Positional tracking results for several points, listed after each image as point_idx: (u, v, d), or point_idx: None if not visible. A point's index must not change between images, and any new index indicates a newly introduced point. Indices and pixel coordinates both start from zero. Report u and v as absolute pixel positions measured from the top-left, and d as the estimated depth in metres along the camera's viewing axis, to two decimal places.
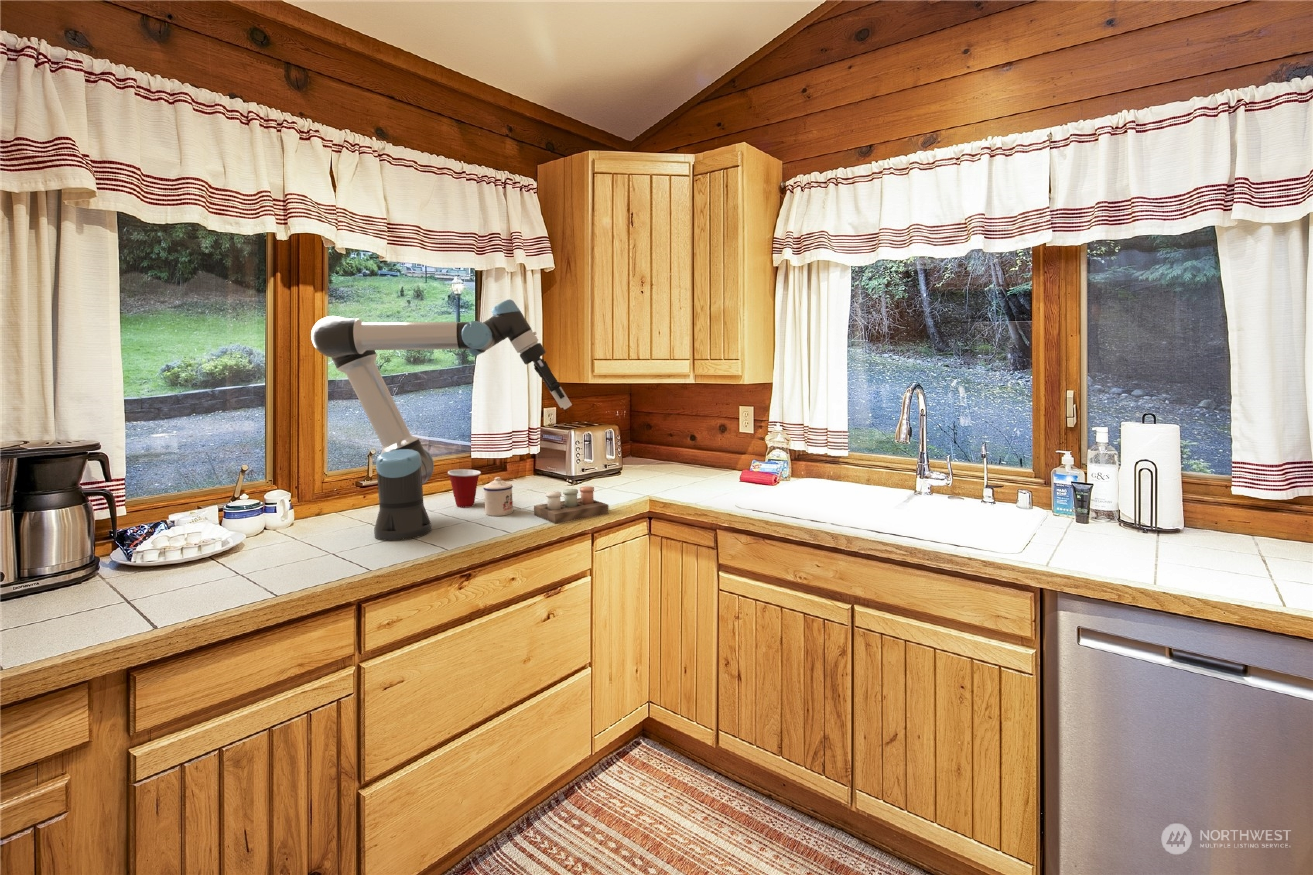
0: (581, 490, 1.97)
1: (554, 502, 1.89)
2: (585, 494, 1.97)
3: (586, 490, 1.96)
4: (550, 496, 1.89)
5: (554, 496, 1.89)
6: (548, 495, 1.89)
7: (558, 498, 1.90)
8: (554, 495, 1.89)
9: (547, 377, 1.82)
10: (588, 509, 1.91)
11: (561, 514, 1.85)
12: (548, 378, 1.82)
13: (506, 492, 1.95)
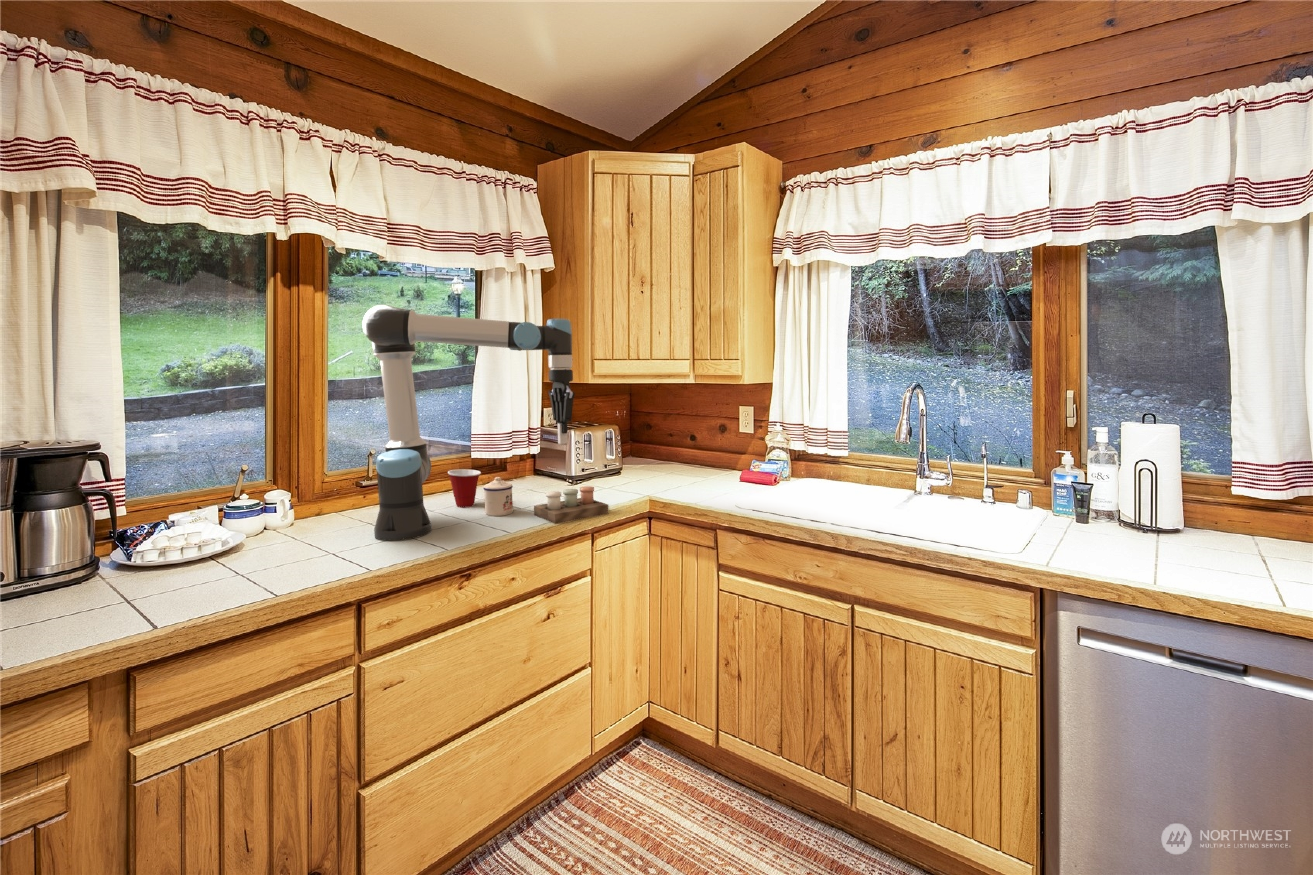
0: (581, 490, 1.97)
1: (554, 502, 1.89)
2: (585, 494, 1.97)
3: (586, 490, 1.96)
4: (550, 496, 1.89)
5: (554, 496, 1.89)
6: (548, 495, 1.89)
7: (558, 498, 1.90)
8: (554, 495, 1.89)
9: (567, 411, 1.91)
10: (588, 509, 1.91)
11: (561, 514, 1.85)
12: (567, 412, 1.91)
13: (506, 492, 1.95)
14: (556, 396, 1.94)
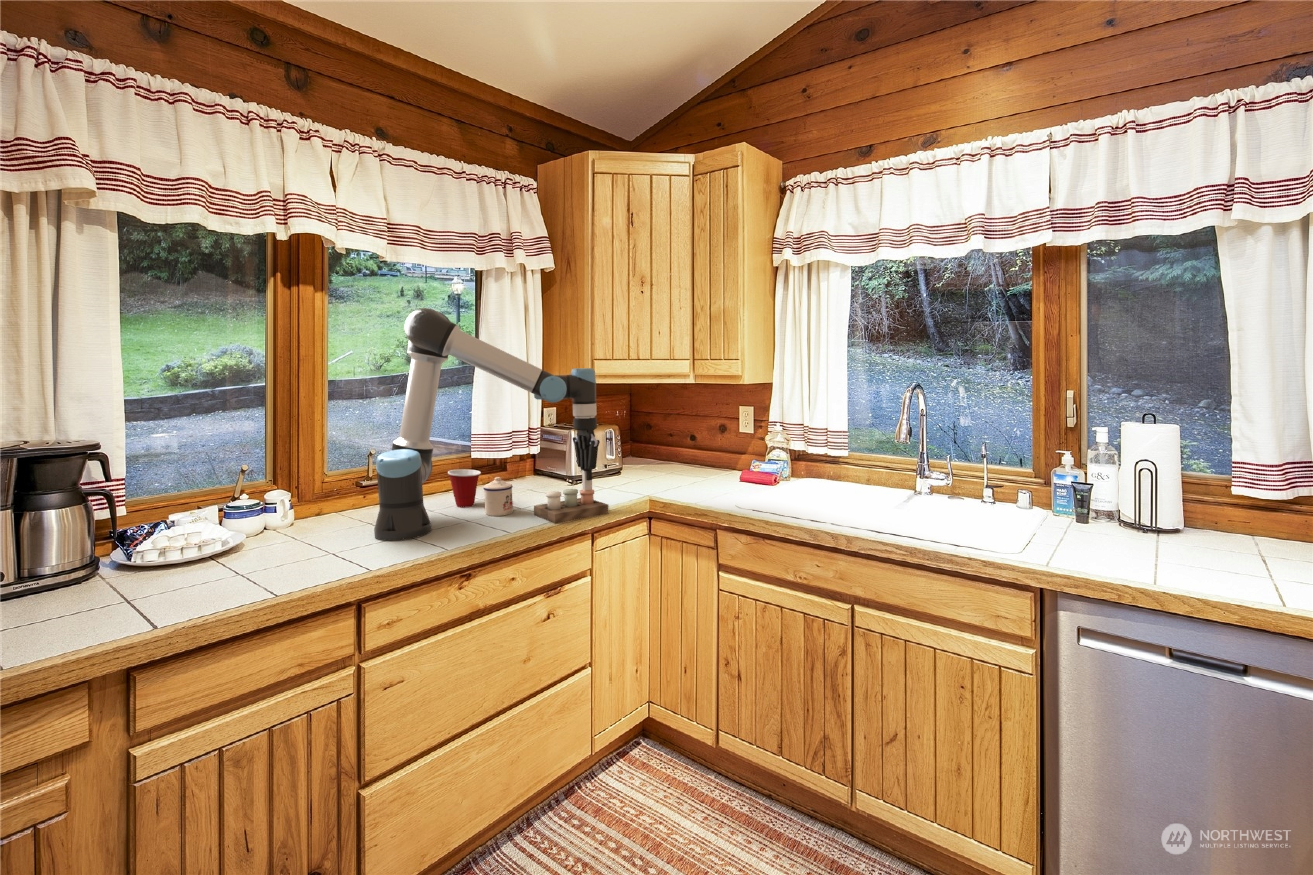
0: (581, 493, 1.97)
1: (554, 502, 1.89)
2: (585, 497, 1.97)
3: (586, 493, 1.96)
4: (550, 496, 1.89)
5: (554, 496, 1.89)
6: (548, 495, 1.89)
7: (558, 498, 1.90)
8: (554, 495, 1.89)
9: (592, 458, 1.93)
10: (588, 509, 1.91)
11: (561, 514, 1.85)
12: (592, 460, 1.93)
13: (506, 492, 1.95)
14: (581, 443, 1.96)
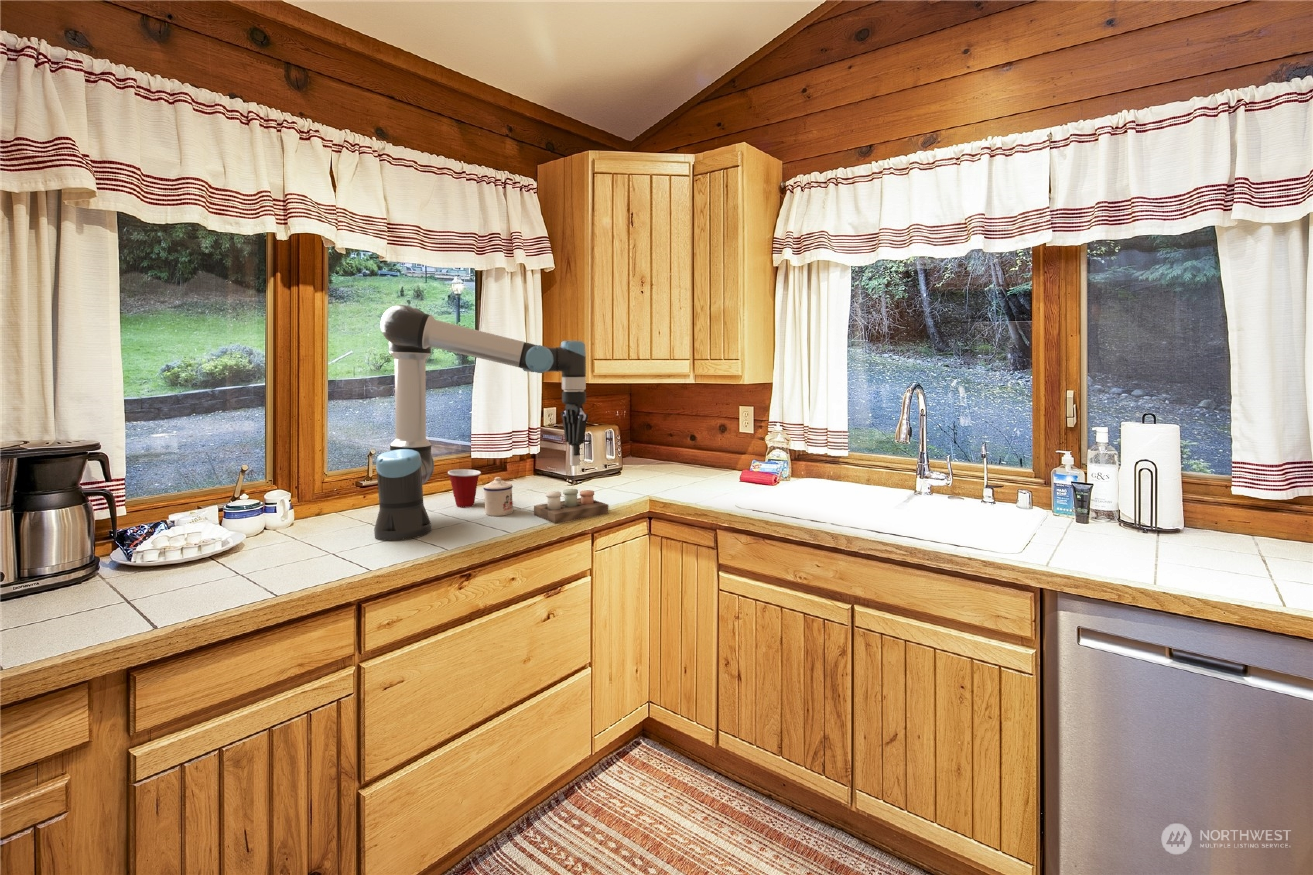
0: (581, 494, 1.97)
1: (554, 502, 1.89)
2: (585, 498, 1.97)
3: (586, 494, 1.96)
4: (550, 496, 1.89)
5: (554, 496, 1.89)
6: (548, 495, 1.89)
7: (558, 498, 1.90)
8: (554, 495, 1.89)
9: (580, 433, 1.90)
10: (588, 509, 1.91)
11: (561, 514, 1.85)
12: (580, 434, 1.90)
13: (506, 492, 1.95)
14: (569, 418, 1.93)
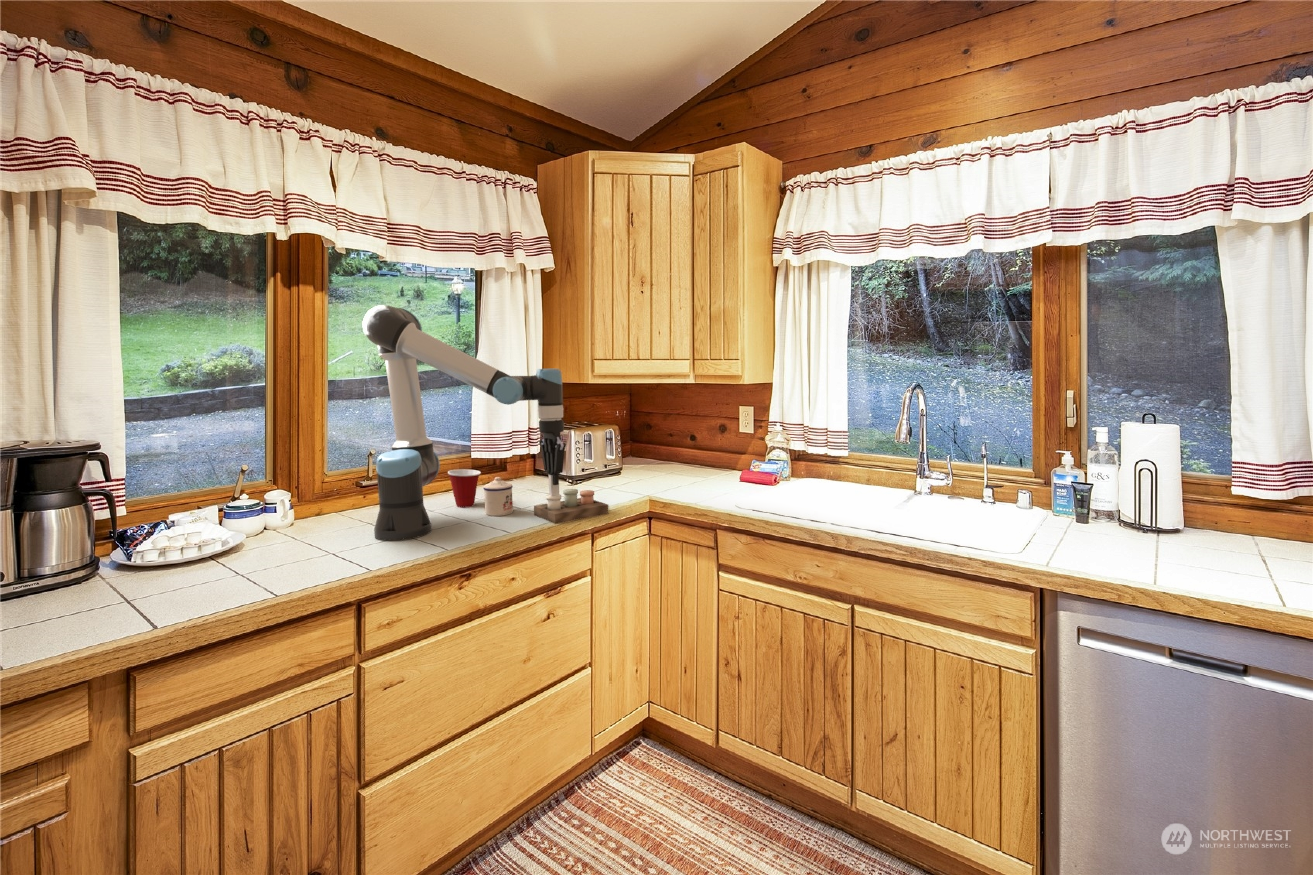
0: (581, 494, 1.97)
1: (554, 505, 1.90)
2: (585, 498, 1.97)
3: (586, 494, 1.96)
4: (550, 499, 1.89)
5: (554, 499, 1.89)
6: (548, 498, 1.89)
7: (558, 501, 1.90)
8: (554, 498, 1.89)
9: (558, 462, 1.86)
10: (588, 509, 1.91)
11: (561, 514, 1.85)
12: (558, 464, 1.86)
13: (505, 492, 1.95)
14: (547, 447, 1.89)
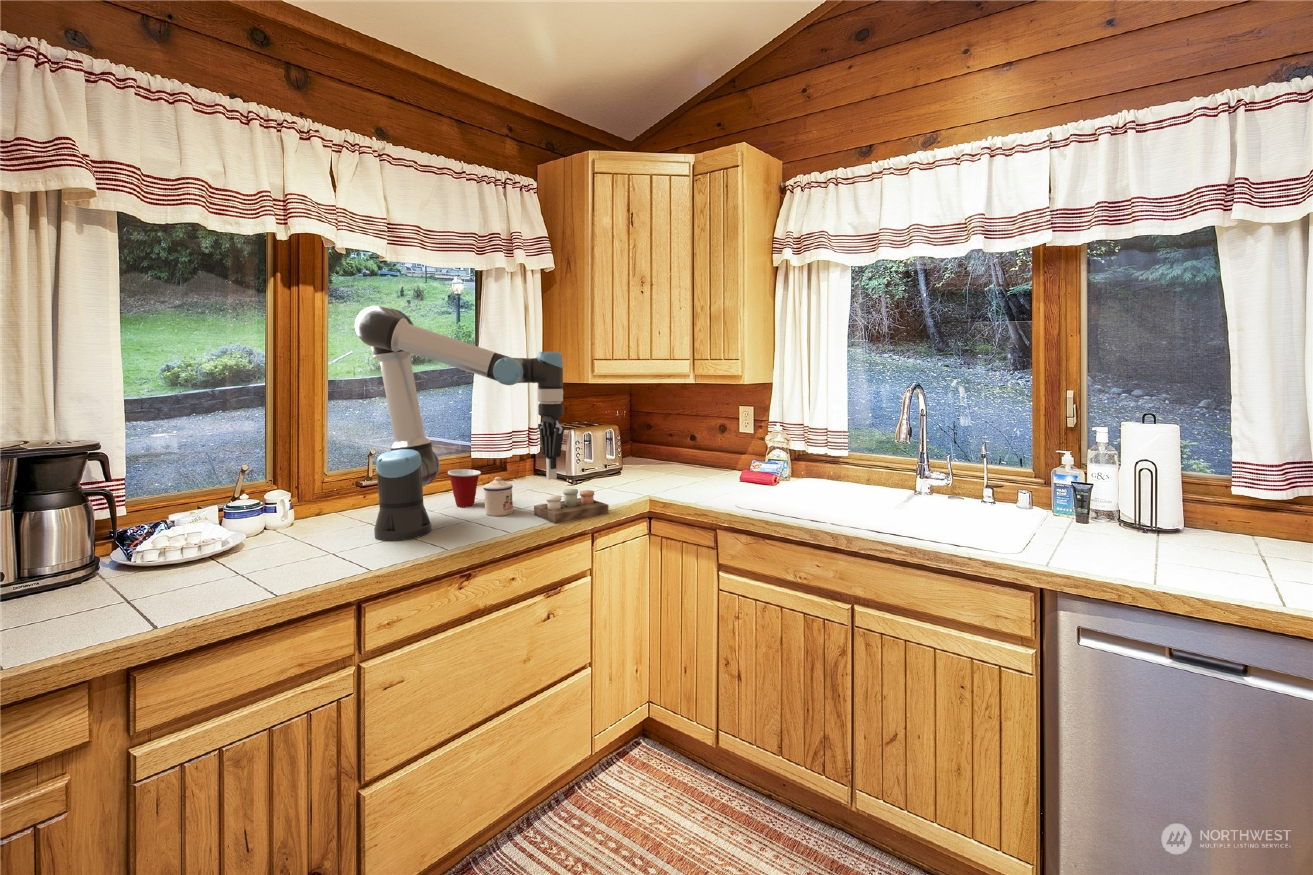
0: (581, 494, 1.97)
1: (554, 506, 1.90)
2: (585, 498, 1.97)
3: (586, 494, 1.96)
4: (550, 500, 1.89)
5: (554, 500, 1.89)
6: (548, 499, 1.89)
7: (558, 502, 1.90)
8: (554, 499, 1.89)
9: (556, 446, 1.85)
10: (588, 509, 1.91)
11: (561, 514, 1.85)
12: (556, 447, 1.85)
13: (506, 492, 1.95)
14: (545, 430, 1.88)
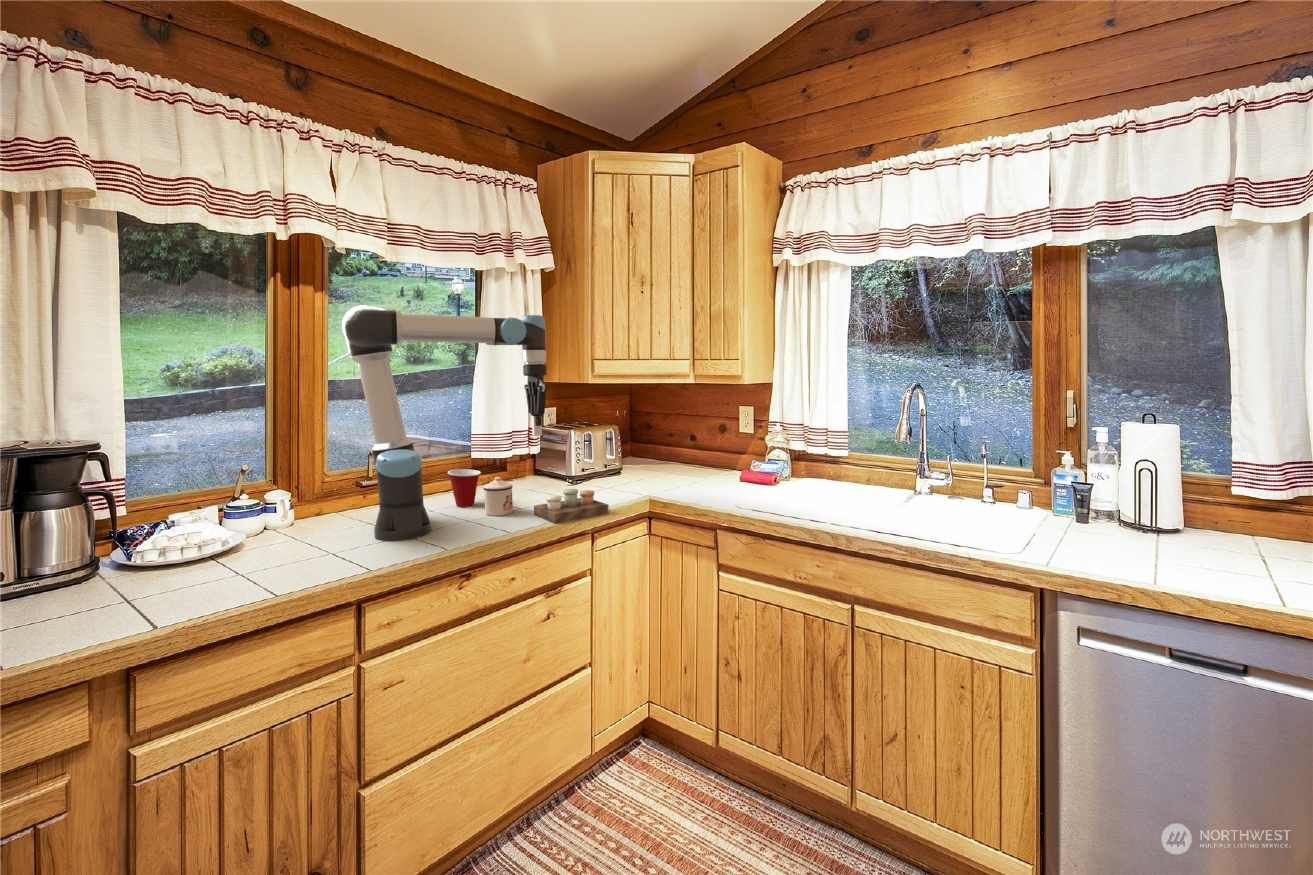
0: (581, 494, 1.97)
1: (554, 506, 1.90)
2: (585, 498, 1.97)
3: (586, 494, 1.96)
4: (550, 500, 1.89)
5: (554, 500, 1.89)
6: (548, 499, 1.89)
7: (558, 502, 1.90)
8: (554, 499, 1.89)
9: (540, 404, 1.98)
10: (588, 509, 1.91)
11: (561, 514, 1.85)
12: (540, 405, 1.98)
13: (506, 492, 1.95)
14: (530, 390, 2.01)
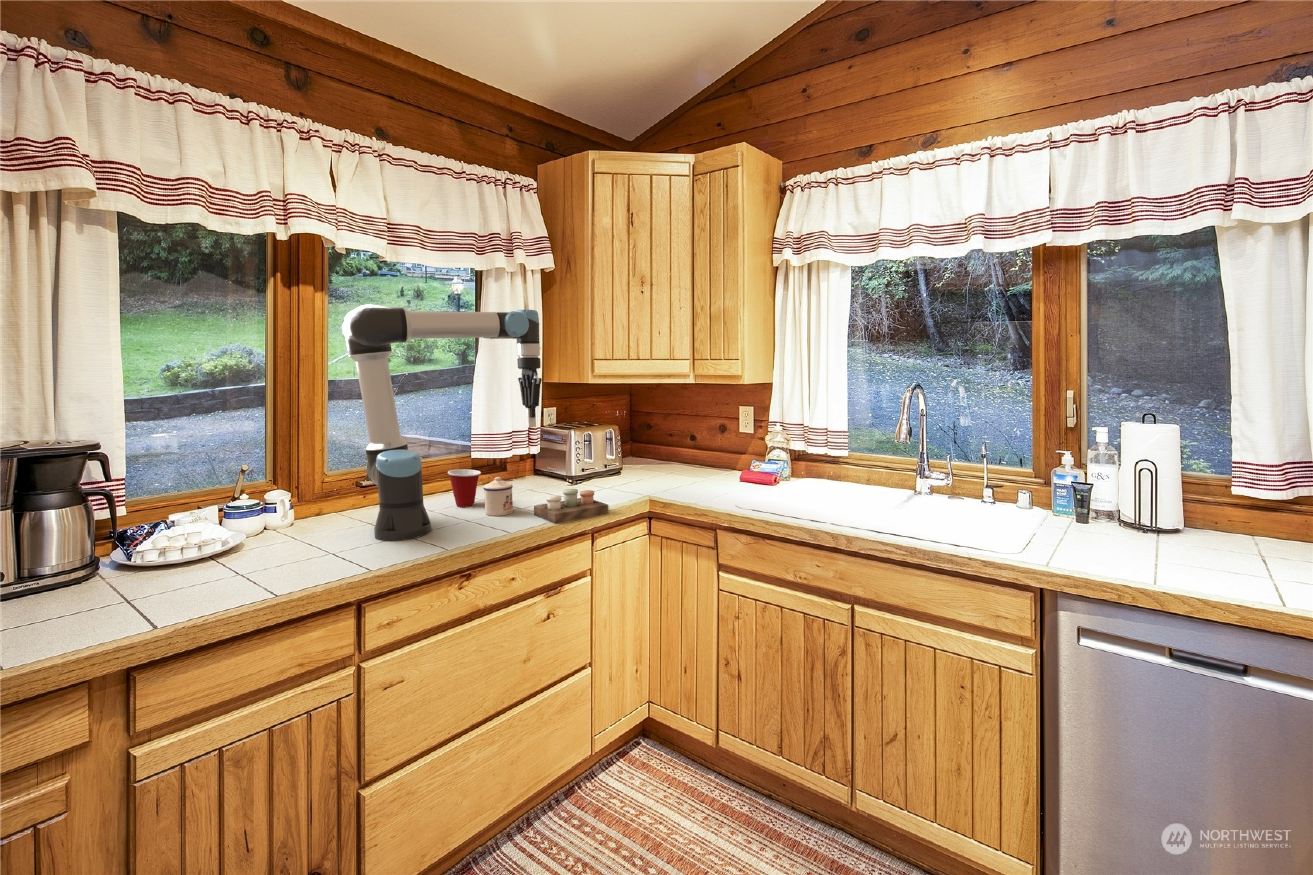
0: (581, 494, 1.97)
1: (554, 506, 1.90)
2: (585, 498, 1.97)
3: (586, 494, 1.96)
4: (550, 500, 1.89)
5: (554, 500, 1.89)
6: (548, 499, 1.89)
7: (558, 502, 1.90)
8: (554, 499, 1.89)
9: (534, 396, 2.03)
10: (588, 509, 1.91)
11: (561, 514, 1.85)
12: (534, 397, 2.04)
13: (506, 492, 1.95)
14: (525, 382, 2.06)
